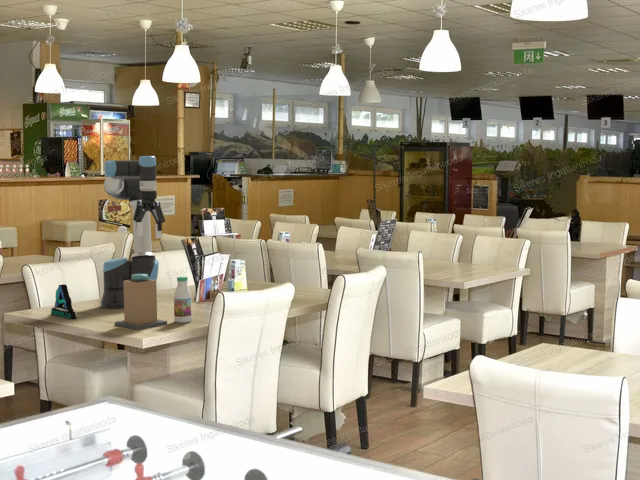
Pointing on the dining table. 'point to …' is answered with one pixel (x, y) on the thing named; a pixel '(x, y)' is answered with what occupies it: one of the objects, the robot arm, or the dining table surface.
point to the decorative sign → (61, 300)
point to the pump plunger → (140, 277)
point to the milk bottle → (182, 302)
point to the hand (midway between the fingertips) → (149, 237)
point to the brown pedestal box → (140, 305)
